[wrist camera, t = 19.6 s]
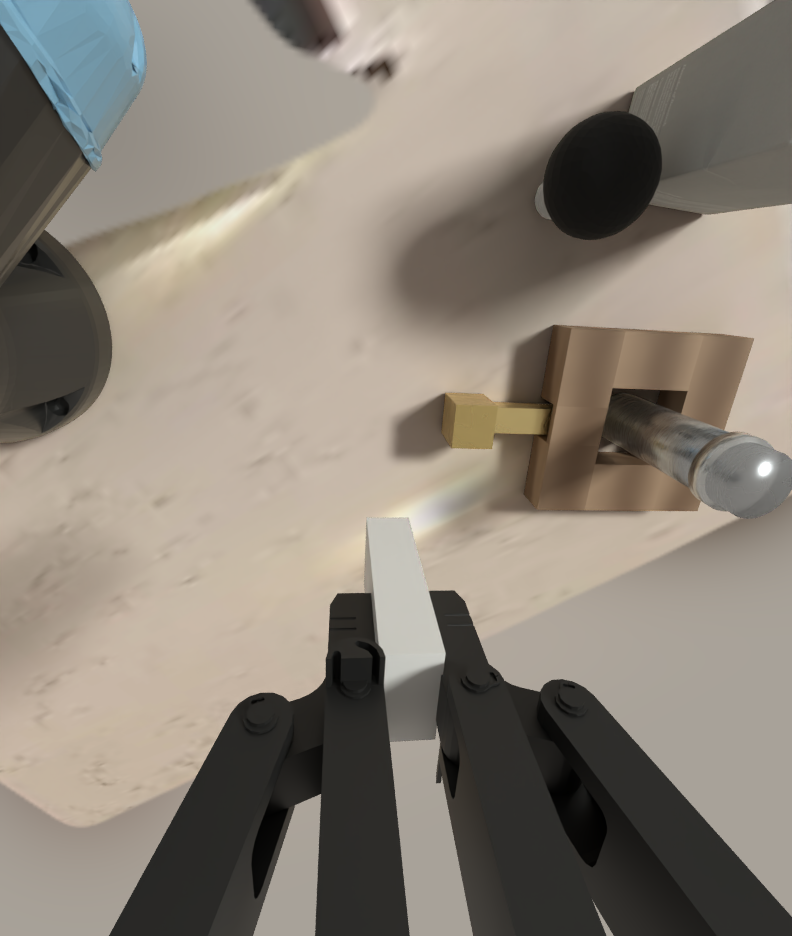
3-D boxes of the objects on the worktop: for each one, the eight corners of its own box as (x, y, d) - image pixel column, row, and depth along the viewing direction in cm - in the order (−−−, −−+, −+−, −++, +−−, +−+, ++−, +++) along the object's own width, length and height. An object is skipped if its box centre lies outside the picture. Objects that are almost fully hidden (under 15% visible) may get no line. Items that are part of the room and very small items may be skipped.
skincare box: (742, 111, 31) (1102, -45, 16) (701, 229, 33) (981, 187, 19) (627, 83, 30) (904, -114, 15) (593, 208, 32) (803, 145, 17)
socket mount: (523, 494, 40) (537, 510, 37) (553, 324, 35) (571, 328, 32) (673, 495, 41) (697, 511, 39) (723, 334, 36) (754, 338, 34)
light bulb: (597, 156, 31) (705, 101, 22) (577, 252, 33) (668, 240, 24) (513, 145, 30) (588, 83, 21) (498, 244, 32) (560, 227, 23)
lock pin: (441, 432, 37) (451, 448, 33) (445, 392, 36) (456, 404, 32) (583, 436, 38) (608, 451, 35) (592, 398, 37) (618, 409, 34)
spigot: (586, 443, 39) (708, 523, 26) (598, 388, 37) (735, 444, 24) (638, 444, 39) (782, 523, 26) (652, 390, 37) (814, 446, 25)
